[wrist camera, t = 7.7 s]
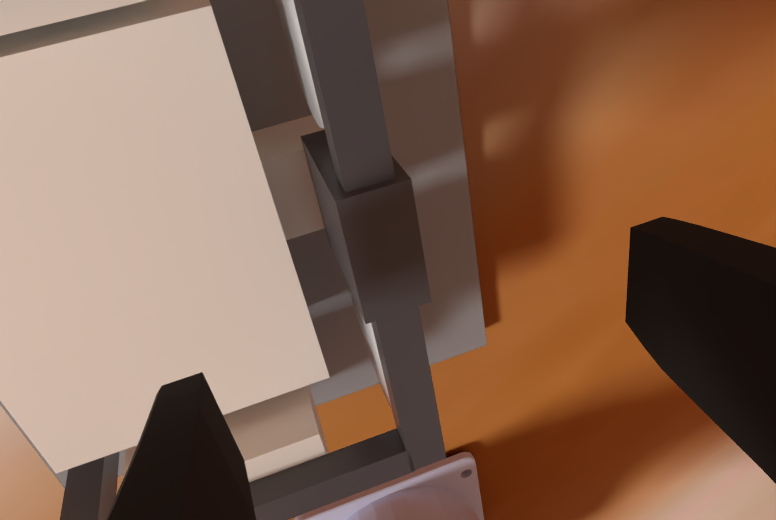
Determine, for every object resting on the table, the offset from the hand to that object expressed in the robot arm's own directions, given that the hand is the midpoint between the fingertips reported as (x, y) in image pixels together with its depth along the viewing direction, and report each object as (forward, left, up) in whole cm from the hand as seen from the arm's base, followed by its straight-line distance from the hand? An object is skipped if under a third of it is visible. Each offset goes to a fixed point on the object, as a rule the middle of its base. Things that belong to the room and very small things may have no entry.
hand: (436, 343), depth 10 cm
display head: (0, +3, -9) cm, 10 cm away
